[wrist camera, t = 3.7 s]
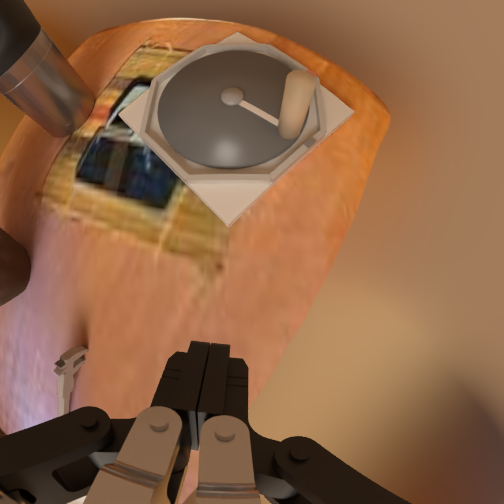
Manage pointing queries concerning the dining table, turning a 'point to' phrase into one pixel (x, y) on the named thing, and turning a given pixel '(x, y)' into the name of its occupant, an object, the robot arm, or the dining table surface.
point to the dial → (235, 109)
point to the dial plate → (245, 179)
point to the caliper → (68, 375)
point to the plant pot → (12, 268)
